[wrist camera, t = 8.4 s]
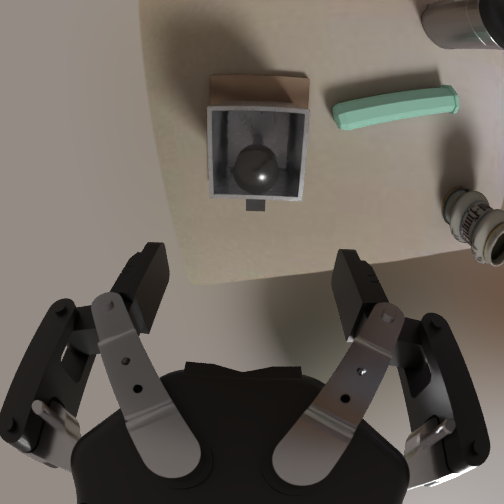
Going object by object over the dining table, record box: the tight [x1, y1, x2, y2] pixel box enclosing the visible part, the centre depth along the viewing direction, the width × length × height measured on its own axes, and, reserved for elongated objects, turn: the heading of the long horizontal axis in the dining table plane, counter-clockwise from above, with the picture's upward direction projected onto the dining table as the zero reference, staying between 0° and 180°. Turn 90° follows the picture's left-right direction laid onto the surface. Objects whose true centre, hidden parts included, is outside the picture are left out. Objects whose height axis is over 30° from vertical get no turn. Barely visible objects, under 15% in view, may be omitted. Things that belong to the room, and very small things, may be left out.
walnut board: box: [210, 75, 310, 109], centre depth 43 cm, size 20×16×1 cm
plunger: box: [228, 111, 289, 194], centre depth 30 cm, size 8×8×17 cm
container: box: [332, 85, 460, 130], centre depth 37 cm, size 6×6×25 cm
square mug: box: [207, 101, 310, 211], centre depth 36 cm, size 14×11×16 cm
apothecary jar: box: [442, 186, 504, 266], centre depth 41 cm, size 12×12×18 cm
